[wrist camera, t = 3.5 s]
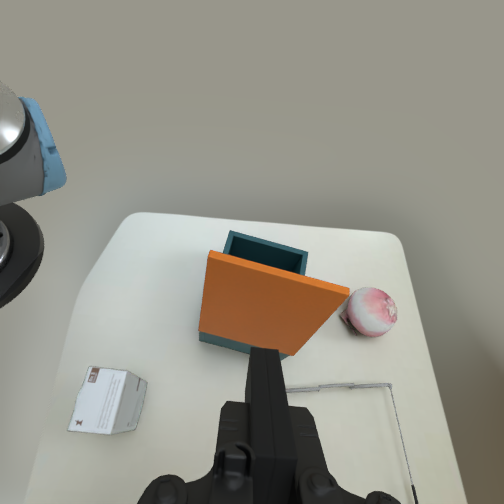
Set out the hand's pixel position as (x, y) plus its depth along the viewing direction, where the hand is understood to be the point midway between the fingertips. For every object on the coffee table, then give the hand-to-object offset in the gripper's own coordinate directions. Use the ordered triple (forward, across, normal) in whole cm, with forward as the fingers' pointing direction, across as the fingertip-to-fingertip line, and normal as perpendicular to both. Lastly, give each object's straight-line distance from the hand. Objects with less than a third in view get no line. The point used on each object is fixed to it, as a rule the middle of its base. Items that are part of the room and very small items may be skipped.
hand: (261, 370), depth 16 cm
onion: (+33, +20, -10) cm, 40 cm away
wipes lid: (+16, +1, -3) cm, 16 cm away
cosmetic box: (+21, -15, -21) cm, 33 cm away
